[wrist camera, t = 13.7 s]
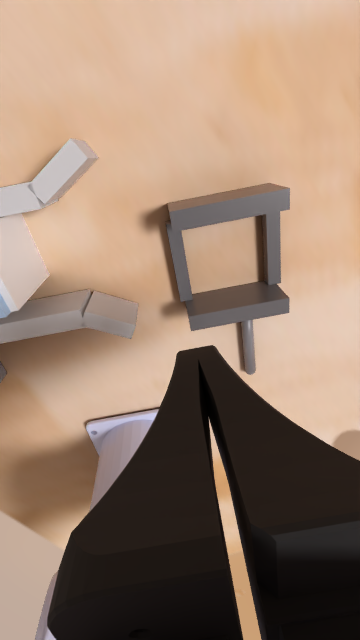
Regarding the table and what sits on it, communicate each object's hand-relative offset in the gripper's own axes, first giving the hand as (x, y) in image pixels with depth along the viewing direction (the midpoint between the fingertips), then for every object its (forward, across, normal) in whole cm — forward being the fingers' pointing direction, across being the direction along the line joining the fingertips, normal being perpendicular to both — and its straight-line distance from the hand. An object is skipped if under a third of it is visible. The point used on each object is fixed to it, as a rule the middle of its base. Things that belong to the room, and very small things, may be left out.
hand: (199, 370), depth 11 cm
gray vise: (+10, -3, +2) cm, 11 cm away
